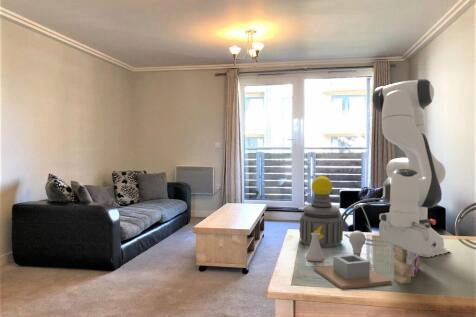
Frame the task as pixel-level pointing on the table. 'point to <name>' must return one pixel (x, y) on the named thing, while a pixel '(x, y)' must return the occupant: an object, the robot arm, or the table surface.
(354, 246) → the lightbulb
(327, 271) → the square peg socket base
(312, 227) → the decorative lamp
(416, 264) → the candy bar box
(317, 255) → the flask
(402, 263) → the wooden block
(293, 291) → the table surface
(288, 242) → the table surface
